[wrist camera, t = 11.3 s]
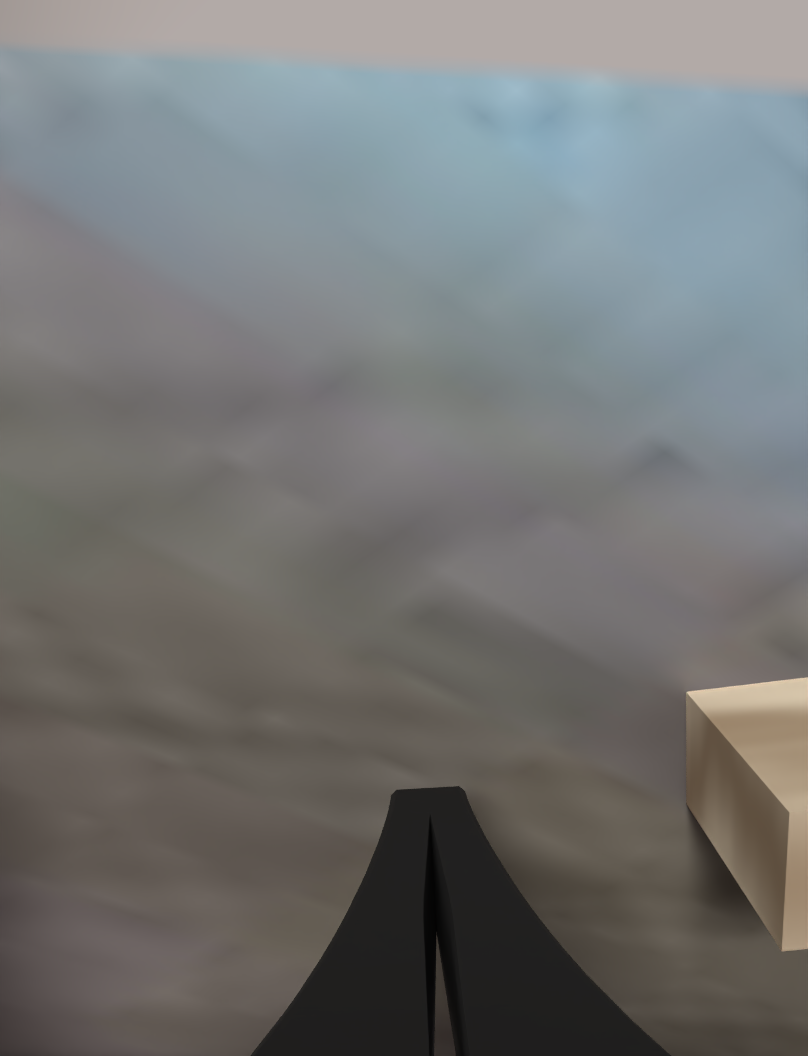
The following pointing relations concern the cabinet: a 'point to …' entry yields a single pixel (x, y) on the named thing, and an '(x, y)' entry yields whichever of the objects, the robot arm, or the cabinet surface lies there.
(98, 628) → the cabinet surface
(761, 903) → the tan wooden block
